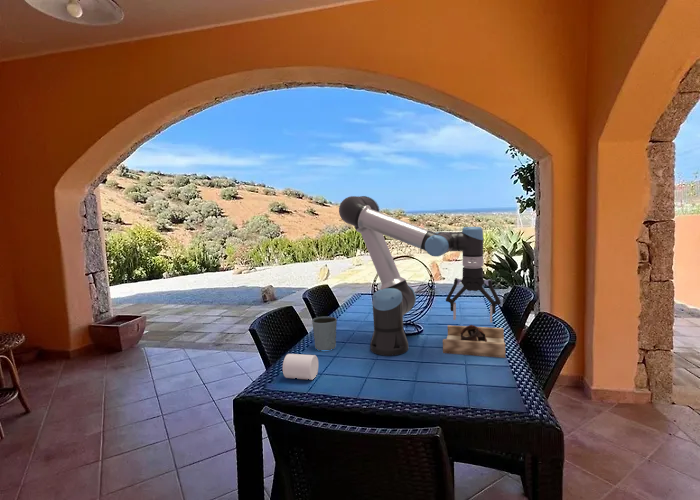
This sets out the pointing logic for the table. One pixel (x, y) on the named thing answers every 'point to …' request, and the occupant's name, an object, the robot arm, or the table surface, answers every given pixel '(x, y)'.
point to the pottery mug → (473, 334)
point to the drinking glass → (324, 332)
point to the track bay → (475, 342)
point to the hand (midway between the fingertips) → (472, 320)
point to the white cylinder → (300, 366)
